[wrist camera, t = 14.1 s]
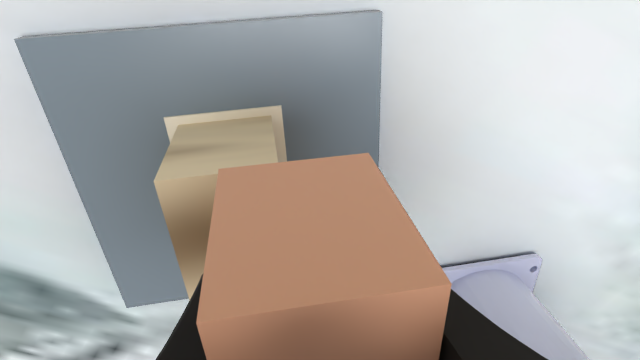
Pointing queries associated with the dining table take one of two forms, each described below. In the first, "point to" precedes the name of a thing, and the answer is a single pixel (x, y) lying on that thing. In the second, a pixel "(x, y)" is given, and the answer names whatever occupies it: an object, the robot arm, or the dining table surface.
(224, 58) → the baseplate
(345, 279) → the terracotta brick
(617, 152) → the dining table surface
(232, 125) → the beech brick
